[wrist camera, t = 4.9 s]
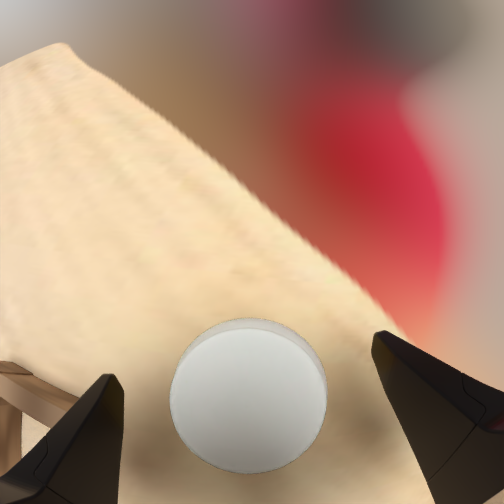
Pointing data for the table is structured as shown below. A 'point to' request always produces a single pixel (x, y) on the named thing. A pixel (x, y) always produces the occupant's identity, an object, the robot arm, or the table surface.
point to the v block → (25, 408)
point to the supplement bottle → (248, 396)
